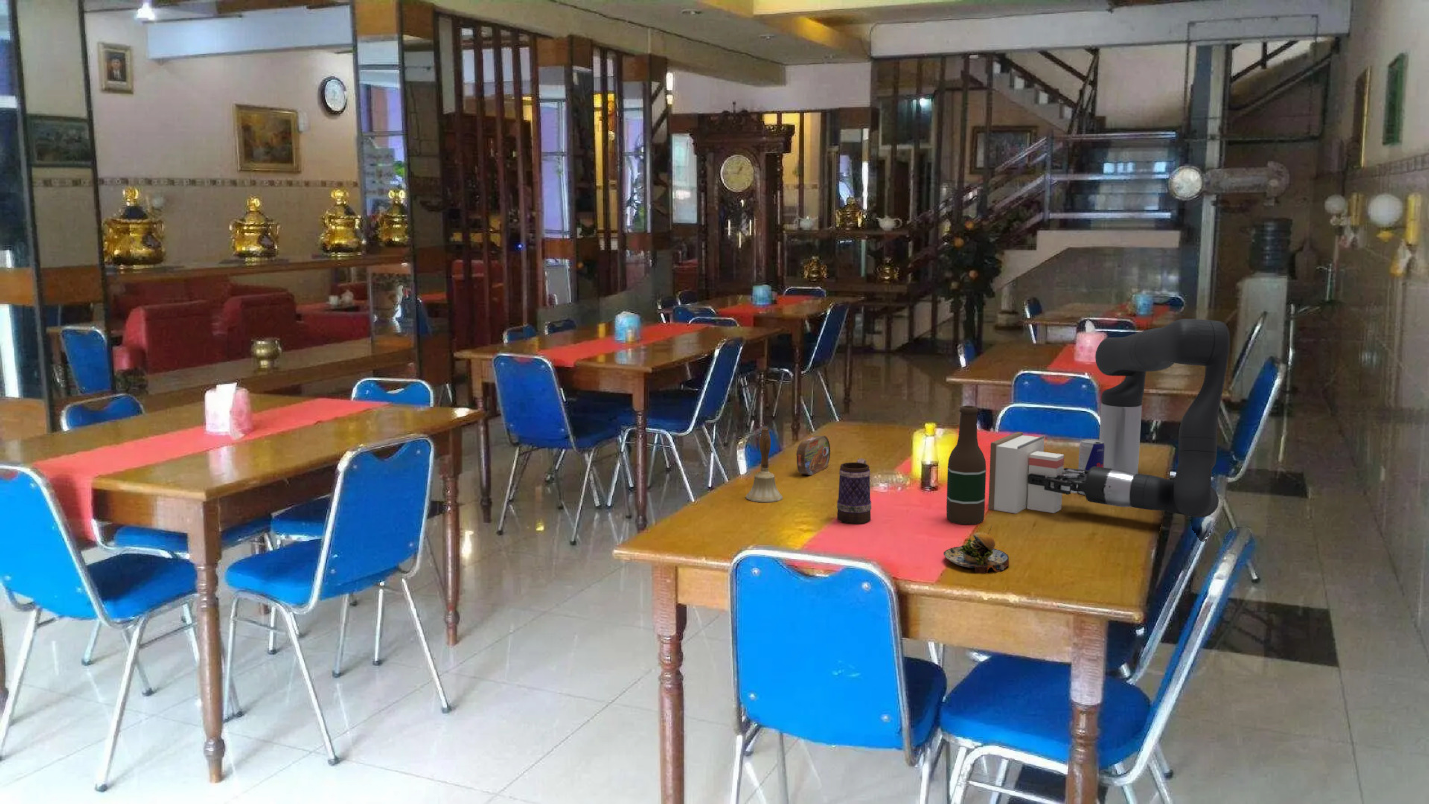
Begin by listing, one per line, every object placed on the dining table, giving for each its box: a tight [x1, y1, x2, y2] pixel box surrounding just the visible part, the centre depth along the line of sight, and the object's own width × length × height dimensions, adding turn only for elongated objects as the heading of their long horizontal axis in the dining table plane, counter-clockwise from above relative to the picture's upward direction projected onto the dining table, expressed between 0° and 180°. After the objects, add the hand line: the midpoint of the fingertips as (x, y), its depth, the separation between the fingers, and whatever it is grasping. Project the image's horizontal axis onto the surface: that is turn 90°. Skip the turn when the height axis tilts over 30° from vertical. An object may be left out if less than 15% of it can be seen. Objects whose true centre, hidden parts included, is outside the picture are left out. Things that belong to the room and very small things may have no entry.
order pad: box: [987, 431, 1045, 514], centre depth 247 cm, size 14×6×15 cm, turn 142°
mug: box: [836, 457, 872, 525], centre depth 237 cm, size 10×7×12 cm
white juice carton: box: [1026, 451, 1065, 514], centre depth 243 cm, size 4×6×12 cm
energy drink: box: [1077, 438, 1105, 496], centre depth 256 cm, size 5×5×12 cm
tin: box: [795, 435, 831, 476], centre depth 279 cm, size 15×3×8 cm, turn 150°
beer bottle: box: [946, 405, 987, 526], centre depth 234 cm, size 8×8×24 cm
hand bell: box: [745, 427, 784, 503], centre depth 253 cm, size 8×8×16 cm
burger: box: [943, 525, 1010, 574], centre depth 207 cm, size 12×12×8 cm
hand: (1034, 475), depth 244 cm, fingers open, 5 cm apart
